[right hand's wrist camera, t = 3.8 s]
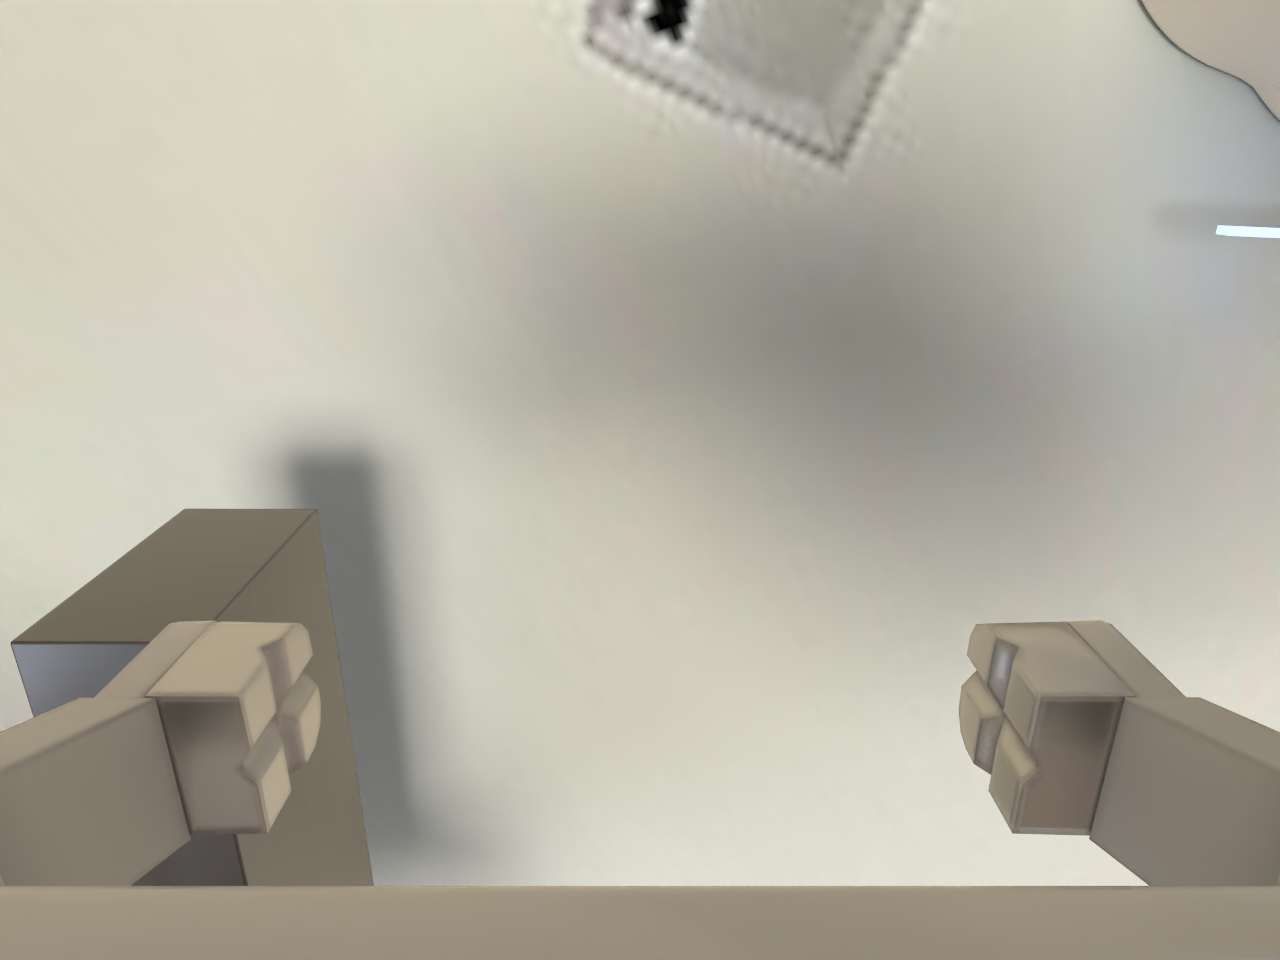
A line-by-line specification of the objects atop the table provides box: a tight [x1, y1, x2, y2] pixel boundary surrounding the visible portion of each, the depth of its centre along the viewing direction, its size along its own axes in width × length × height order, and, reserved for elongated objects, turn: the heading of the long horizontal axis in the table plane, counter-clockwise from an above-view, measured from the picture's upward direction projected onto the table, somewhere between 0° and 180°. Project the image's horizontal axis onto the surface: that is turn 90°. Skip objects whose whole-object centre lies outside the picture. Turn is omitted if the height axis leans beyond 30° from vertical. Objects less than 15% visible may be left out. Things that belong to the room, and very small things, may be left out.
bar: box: [11, 509, 374, 886], centre depth 32 cm, size 25×5×9 cm, turn 0°
